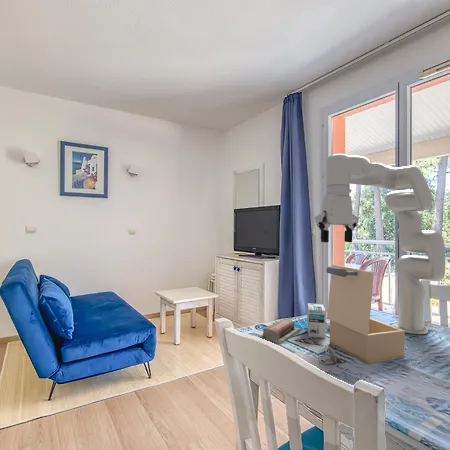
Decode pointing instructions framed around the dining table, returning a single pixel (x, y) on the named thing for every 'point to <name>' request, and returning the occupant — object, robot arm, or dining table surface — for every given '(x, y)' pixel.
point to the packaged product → (280, 331)
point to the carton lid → (350, 297)
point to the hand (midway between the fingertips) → (336, 242)
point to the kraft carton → (369, 341)
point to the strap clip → (331, 359)
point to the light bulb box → (316, 320)
